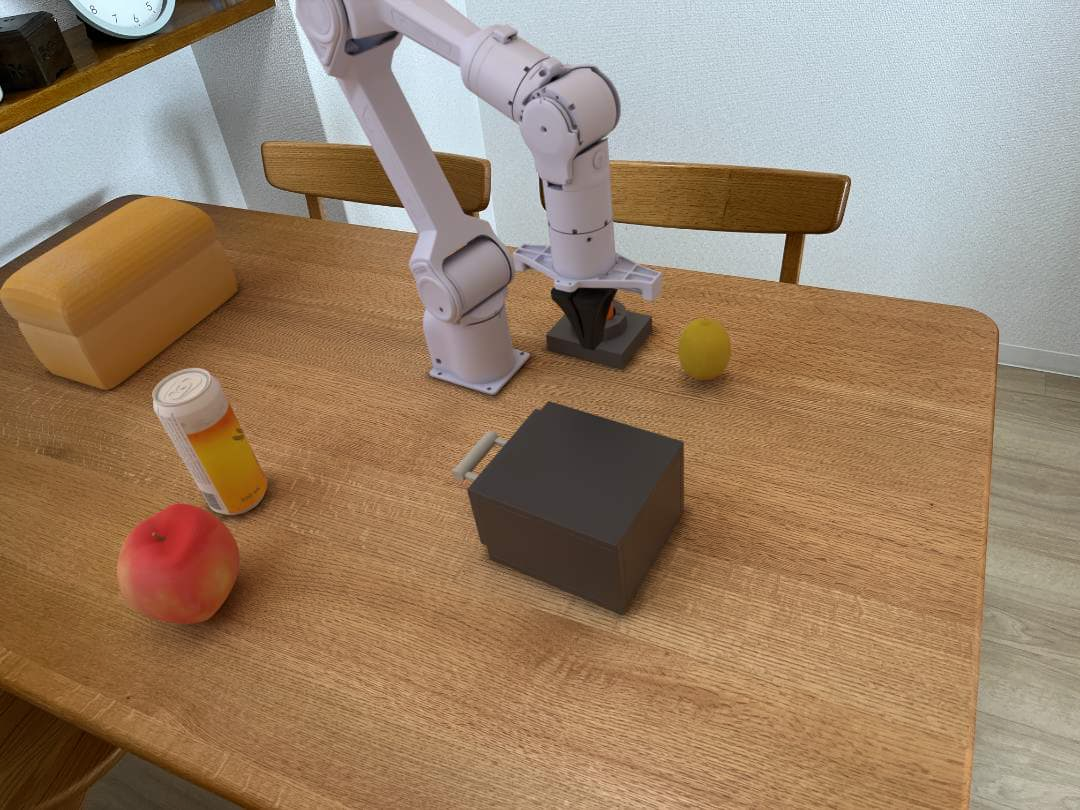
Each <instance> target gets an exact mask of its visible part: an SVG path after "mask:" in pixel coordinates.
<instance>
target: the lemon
mask: <svg viewBox="0 0 1080 810" xmlns="http://www.w3.org/2000/svg"><path fill="white" fill-rule="evenodd" d="M677 350H678V353H677V354H678V355H677V356H678V361H679V364H680V365H681V368H682V370H683V371H684V372H685V373H686V374H687V375H688V376H690V377H691V378H693V379H695V380H699V381H710V380H713V379H715V378H718V377H720V376H721V375H722V373H724V371H726V369H727V367H728V365H729V363H730V361H731V354H732V343H731V340H730V336H729V333H728V331H727V329H726V328H725V326H724V325H723V324H722V323H720V321H718V320H715V319H714V318H709V317H702V318H697V319H695V320H693V321H691V322H690V323H688V324H687V325H686V326H685V328H684V329H683V330H682V333H681V335H680V337H679V341H678V349H677Z"/></svg>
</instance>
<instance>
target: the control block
mask: <svg viewBox="0 0 1080 810" xmlns="http://www.w3.org/2000/svg"><path fill="white" fill-rule="evenodd" d="M652 333H653V316H652V315H648V314H643V313H639V312H636V311H632V310H626V305H624V303H622V302H620V301H619V300H618V299H615V298H614V299H613V317H612V319H611V320H609V321H606V324H605V329H604V335H603V341H602V342H601V343H600V344H599V345H598V346H597V348H596V349H595V350H593V351H592V350H588V349H584V348H582V347H581V345H580V342H579V340H578V338H577V335H576V333H575V331H574V329H573V327H572V325H571V323H570V321H569V319H568V318H567V316H566V315H565V313H563V315H562V316H561V317H560V319H558V321H556V323H555V324H554V325H553V326H552V327H551V329H549V331H548V332H546V334H545V339H546V347H547V350H548V351H552V352H556V353H559V354H564V355H566V356H571V357H574V358H578V359H582V360H586V361H589V362H592V363H597V364H600V365H604V366H607V367H612V368H616V369H619V370H624V369H625V367H626V366H627V365H628V364H629V362H630V360H632V358H633V357H634V356H635V354H636V353H637V352H638V351H639V349H640V348H641V347H642V345H643V344H644V343H645V342H646V341H647V339H648V337H650V335H651V334H652Z"/></svg>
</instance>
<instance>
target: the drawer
mask: <svg viewBox="0 0 1080 810" xmlns="http://www.w3.org/2000/svg"><path fill="white" fill-rule="evenodd" d="M540 410H541V409H538V408H535V409H534V410H533V411H532V412H531V413H530V414H529V415H528V416H527V418H526V419H525V420H524V421H523V422H522V423H521V425H520V426H519V427H518V428H517V429H516V430H515V432H514V433H513V434H512V435H511V436H510V437H509V439H508V440H507V439H505V438H503V437H499V434H497V432H495V431H494V430H491V429H490V430H487V431H486V432H485V433H484V435H482V436H481V438H480V439H479V440H478V441H476V443H475V445H474V446H473V447H472V448H471V449H470V450H469V451H468V453H466V455H465V456H464V457H463V458H462V459H461V460H460V462H459V463H458V464H457V465H456V466H455V467H454V468H453V469H452V471H451V472H450V473H451V477H452V478H453V479H454V480H455V481H456V482H459V483H463V482H465V481H468V482H471V483H470V484H469V486H468V487H467V489H466V491H467V495H468V499H469V503H470V506H471V507H470V508H471V511H472V514H473V518H474V522H475V526H476V530H477V534H478V538H479V541H480V544H481V545H484V546H486V542H485V538H484V534H483V530H482V526H481V522H480V518H479V515H478V511H477V507H476V503H475V499H474V495H473V490H474V489H475V488H476V486H477V485H478V484H479V483H480V482H481V480H482V479H483V478H484V477H485V476H486V474H487V473H488V472H489V471H490V470H491V468H492V467H493V466H494V465H495V464H496V463H497V461H498V460H499V459H500V458H501V457H502V455H503V454H504V453H505V452H506V451H507V449H508V448H509V447H510V446H511V445H512V444H513V442H514V441H515V440H516V439H517V438H518V436H519V435H520V434H521V433H522V432H523V430H524V429H525V428H526V427H527V426H528V425H529V423H530V422H531V421H532V420H533V419H534V417H535V416H536V415H537V414H538V413H539V411H540ZM495 446H496V447H500V450H499V451H498V452H497V453H496V454H495V455H494V457H492V459H491V460H490V461H489V462H488V463H487V465H486V466H485V467H484V468H483V469H482V471H481V472H480V473H479V474H477V473H473V471H474V470H475V469H476V467H478V465H479V464H480V463H481V462H482V460H483V459H484V458H485V457H486V456H487V455H488V454H489V452H491V450H492V449H493V448H494V447H495Z"/></svg>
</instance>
